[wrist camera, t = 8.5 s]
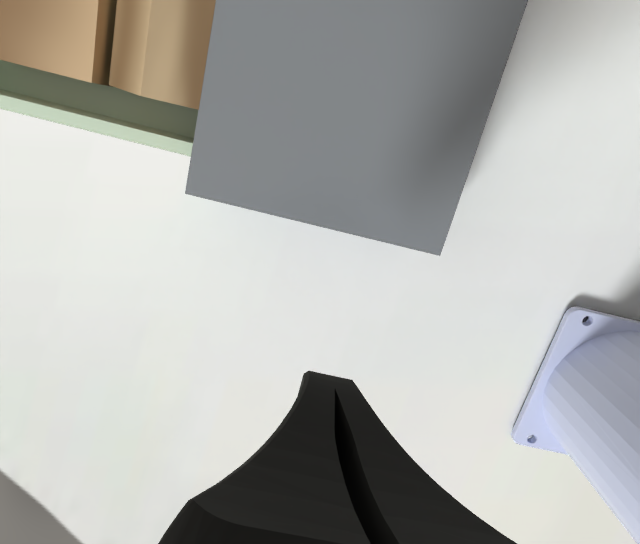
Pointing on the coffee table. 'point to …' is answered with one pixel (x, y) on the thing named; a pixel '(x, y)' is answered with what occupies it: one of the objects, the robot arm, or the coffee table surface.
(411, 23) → the grey flat block
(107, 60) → the oak tile
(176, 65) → the oak tile
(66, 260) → the coffee table surface
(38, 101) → the tray
